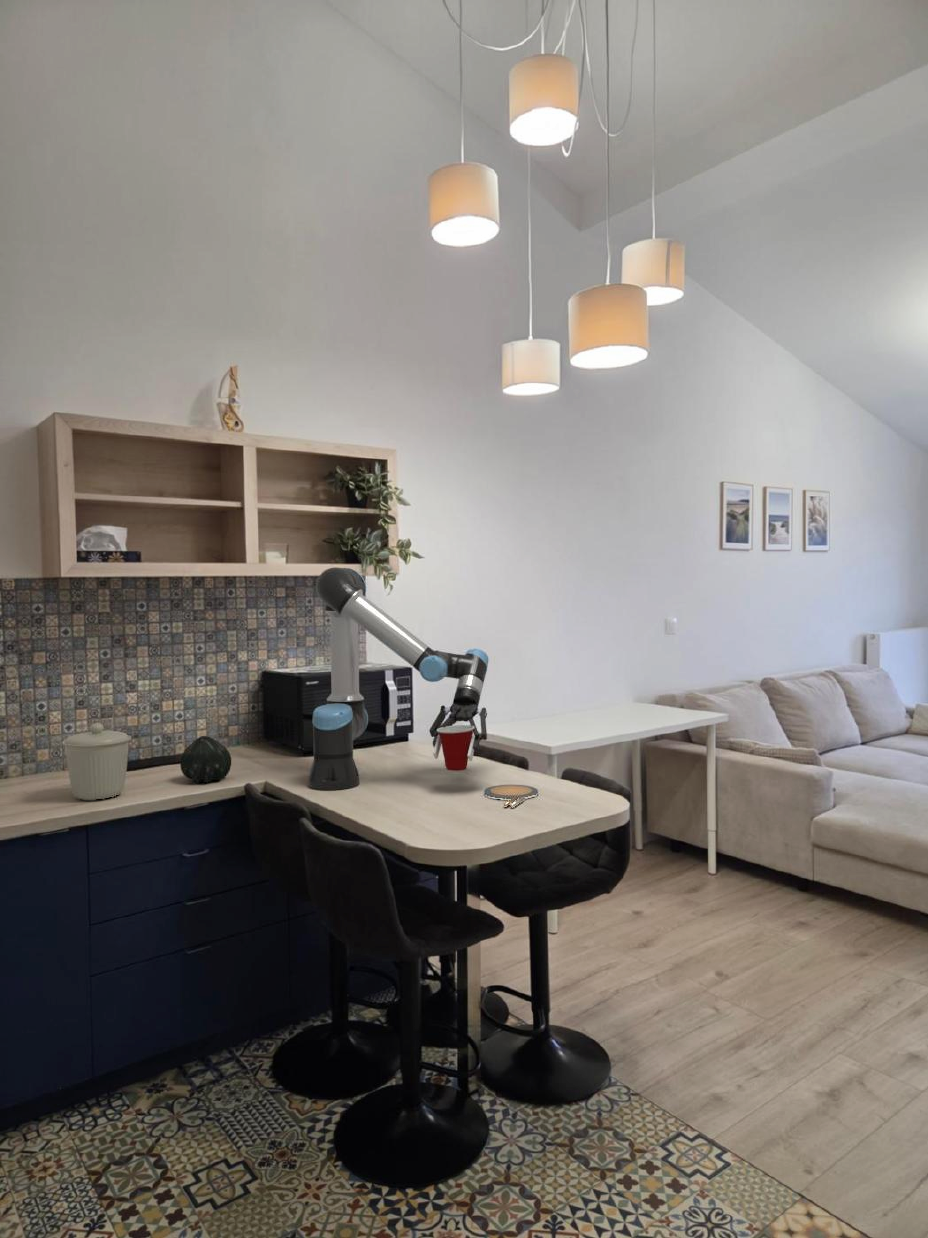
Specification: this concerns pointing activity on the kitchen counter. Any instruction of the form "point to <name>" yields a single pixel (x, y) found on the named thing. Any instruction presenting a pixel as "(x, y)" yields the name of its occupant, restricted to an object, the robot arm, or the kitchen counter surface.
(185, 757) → the squash
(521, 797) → the wire stubs
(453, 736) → the plastic cup
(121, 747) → the canister
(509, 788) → the coaster
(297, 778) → the kitchen counter surface
